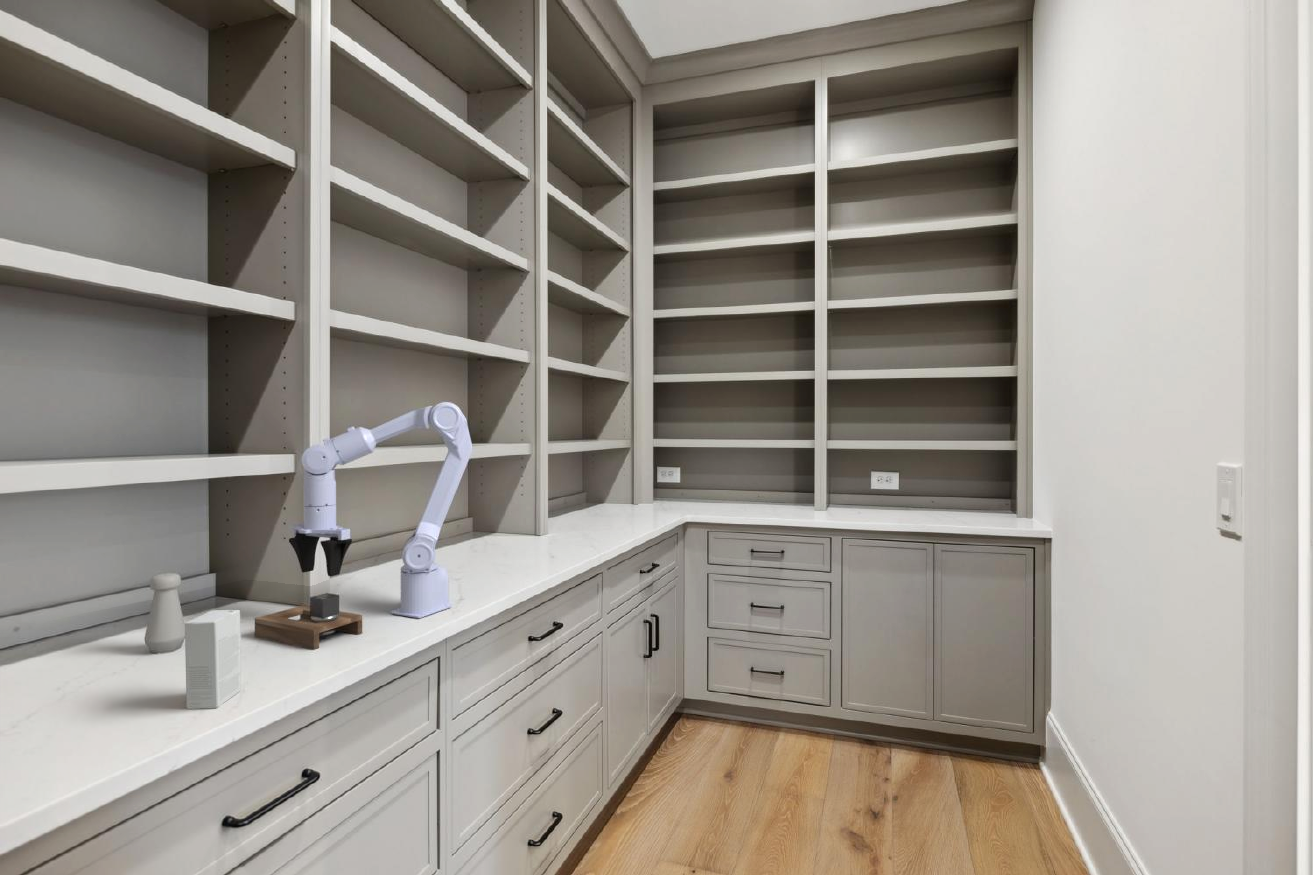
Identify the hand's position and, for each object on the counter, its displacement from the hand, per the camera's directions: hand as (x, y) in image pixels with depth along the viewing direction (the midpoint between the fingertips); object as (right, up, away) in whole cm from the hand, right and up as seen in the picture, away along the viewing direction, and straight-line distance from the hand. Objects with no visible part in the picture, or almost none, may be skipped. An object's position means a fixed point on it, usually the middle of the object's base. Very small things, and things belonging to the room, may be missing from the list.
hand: (320, 573), depth 128 cm
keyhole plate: (+3, -10, -9) cm, 14 cm away
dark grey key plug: (+6, -9, -10) cm, 15 cm away
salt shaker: (-18, -10, -17) cm, 26 cm away
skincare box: (+4, -10, -37) cm, 39 cm away
